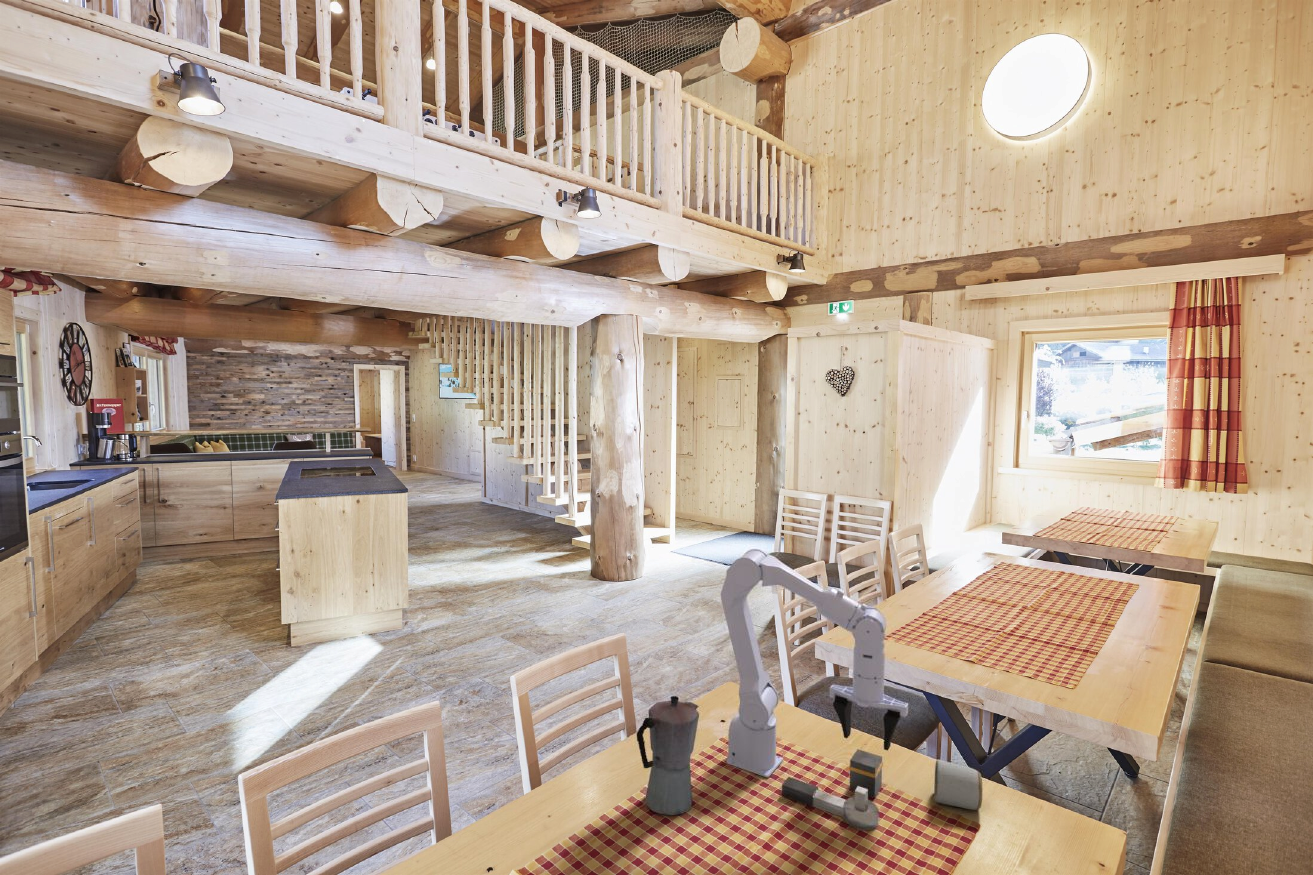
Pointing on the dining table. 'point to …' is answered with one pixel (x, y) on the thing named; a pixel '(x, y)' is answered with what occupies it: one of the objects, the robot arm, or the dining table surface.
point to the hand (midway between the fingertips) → (866, 741)
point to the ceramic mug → (957, 785)
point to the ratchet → (835, 803)
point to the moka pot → (669, 755)
